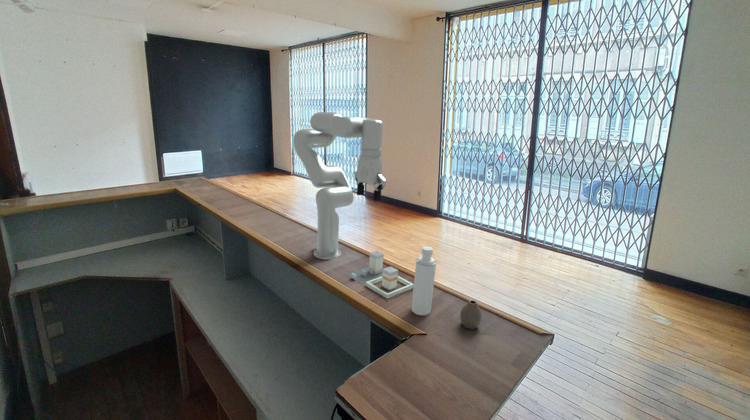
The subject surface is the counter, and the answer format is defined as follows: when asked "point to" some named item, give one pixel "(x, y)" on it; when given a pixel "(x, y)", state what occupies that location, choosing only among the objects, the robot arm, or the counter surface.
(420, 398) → the counter surface
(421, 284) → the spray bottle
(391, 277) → the block
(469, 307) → the vase
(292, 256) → the counter surface
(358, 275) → the block
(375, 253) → the block
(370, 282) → the tray
